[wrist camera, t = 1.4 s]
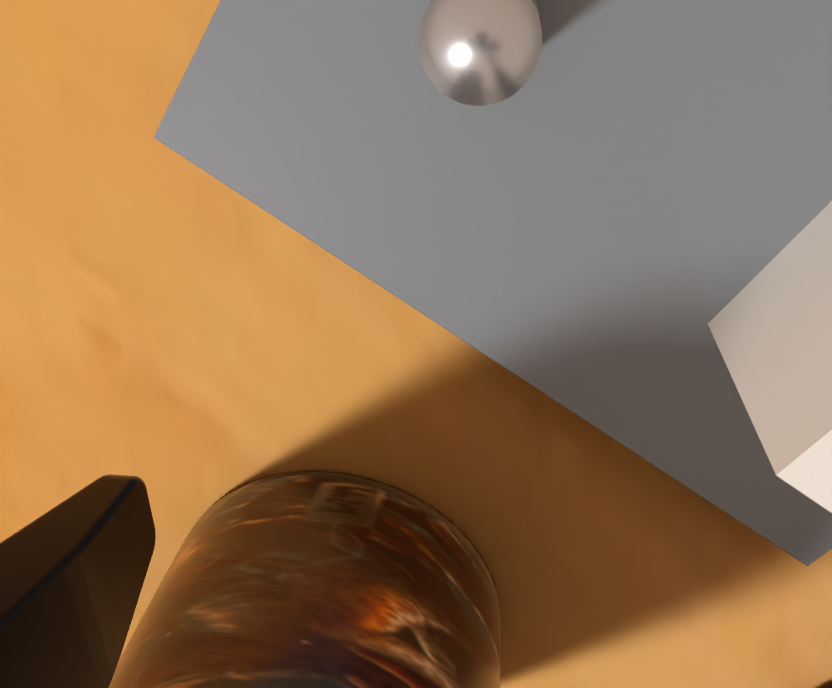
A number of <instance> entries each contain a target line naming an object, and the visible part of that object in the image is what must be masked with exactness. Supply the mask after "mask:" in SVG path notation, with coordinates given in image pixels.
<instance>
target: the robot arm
mask: <svg viewBox="0 0 832 688" xmlns="http://www.w3.org/2000/svg"><path fill="white" fill-rule="evenodd" d="M154 546H155V527H154V522H153V517H152V513H151V508H150V503H149V499H148V494H147V489H146V486H145V483H144V482H143V480H142V479H141V478H139V477H136V476H125V475H105V476H102V477H100V478H99V479H97V480H95V481H94V482H92V483H91V484H89V485H88V486H86V487H85V488H83V489H82V490H80V491H79V492H77V493H76V494H74V495H73V496H71V497H70V498H68V499H67V500H65V501H63V502H62V503H60V504H59V505H57V506H56V507H54V508H53V509H51V510H50V511H48V512H47V513H45V514H44V515H42V516H41V517H39V518H38V519H36V520H35V521H33V522H32V523H30V524H29V525H27V526H25V527H24V528H22V529H21V530H19V531H18V532H16V533H15V534H13V535H12V536H10V537H9V538H7V539H6V540H4V541H3V542H1V543H0V688H109V685H110V683H111V681H112V678H113V676H114V673H115V670H116V667H117V664H118V661H119V658H120V655H121V652H122V649H123V646H124V643H125V640H126V636H127V633H128V630H129V627H130V624H131V620H132V617H133V614H134V611H135V608H136V605H137V601H138V598H139V595H140V592H141V589H142V586H143V582H144V579H145V576H146V573H147V570H148V567H149V563H150V560H151V557H152V554H153V550H154Z"/></svg>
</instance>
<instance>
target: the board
mask: <svg viewBox="0 0 832 688" xmlns="http://www.w3.org/2000/svg"><path fill="white" fill-rule="evenodd" d="M431 1H432V0H220V3H219V5H218V7H217V9H216V11H215V13H214V15H213V17H212V19H211V21H210V23H209V25H208V27H207V29H206V31H205V33H204V35H203V37H202V39H201V41H200V43H199V45H198V48H197V50H196V52H195V54H194V56H193V58H192V60H191V62H190V64H189V66H188V68H187V70H186V72H185V74H184V76H183V78H182V80H181V82H180V84H179V86H178V88H177V90H176V93H175V95H174V97H173V99H172V101H171V103H170V105H169V107H168V109H167V111H166V113H165V115H164V117H163V119H162V121H161V123H160V125H159V127H158V129H157V131H156V133H155V136H154V138H155V139H157V140H158V141H160V142H161V143H163V144H164V145H166V146H167V147H169V148H171V149H172V150H174V151H175V152H177V153H178V154H180V155H181V156H183V157H184V158H186V159H187V160H189V161H190V162H192V163H193V164H195V165H196V166H198V167H199V168H201V169H203V170H204V171H206V172H207V173H209V174H210V175H212V176H213V177H215V178H216V179H218V180H219V181H221V182H222V183H224V184H225V185H227V186H228V187H230V188H232V189H233V190H235V191H236V192H238V193H239V194H241V195H242V196H244V197H245V198H247V199H248V200H250V201H251V202H253V203H254V204H256V205H257V206H259V207H260V208H262V209H264V210H265V211H267V212H268V213H270V214H271V215H273V216H274V217H276V218H277V219H279V220H280V221H282V222H283V223H285V224H286V225H288V226H289V227H291V228H293V229H294V230H296V231H297V232H299V233H300V234H302V235H303V236H305V237H306V238H308V239H309V240H311V241H312V242H314V243H315V244H317V245H318V246H320V247H321V248H323V249H325V250H326V251H328V252H329V253H331V254H332V255H334V256H335V257H337V258H338V259H340V260H341V261H343V262H344V263H346V264H347V265H349V266H350V267H352V268H354V269H355V270H357V271H358V272H360V273H361V274H363V275H364V276H366V277H367V278H369V279H370V280H372V281H373V282H375V283H376V284H378V285H379V286H381V287H383V288H384V289H386V290H387V291H389V292H390V293H392V294H393V295H395V296H396V297H398V298H399V299H401V300H402V301H404V302H405V303H407V304H408V305H410V306H411V307H413V308H415V309H416V310H418V311H419V312H421V313H422V314H424V315H425V316H427V317H428V318H430V319H431V320H433V321H434V322H436V323H437V324H439V325H440V326H442V327H444V328H445V329H447V330H448V331H450V332H451V333H453V334H454V335H456V336H457V337H459V338H460V339H462V340H463V341H465V342H466V343H468V344H469V345H471V346H472V347H474V348H476V349H477V350H479V351H480V352H482V353H483V354H485V355H486V356H488V357H489V358H491V359H492V360H494V361H495V362H497V363H498V364H500V365H501V366H503V367H505V368H506V369H508V370H509V371H511V372H512V373H514V374H515V375H517V376H518V377H520V378H521V379H523V380H524V381H526V382H527V383H529V384H530V385H532V386H533V387H535V388H537V389H538V390H540V391H541V392H543V393H544V394H546V395H547V396H549V397H550V398H552V399H553V400H555V401H556V402H558V403H559V404H561V405H562V406H564V407H566V408H567V409H569V410H570V411H572V412H573V413H575V414H576V415H578V416H579V417H581V418H582V419H584V420H585V421H587V422H588V423H590V424H591V425H593V426H594V427H596V428H598V429H599V430H601V431H602V432H604V433H605V434H607V435H608V436H610V437H611V438H613V439H614V440H616V441H617V442H619V443H620V444H622V445H623V446H625V447H627V448H628V449H630V450H631V451H633V452H634V453H636V454H637V455H639V456H640V457H642V458H643V459H645V460H646V461H648V462H649V463H651V464H652V465H654V466H655V467H657V468H659V469H660V470H662V471H663V472H665V473H666V474H668V475H669V476H671V477H672V478H674V479H675V480H677V481H678V482H680V483H681V484H683V485H684V486H686V487H688V488H689V489H691V490H692V491H694V492H695V493H697V494H698V495H700V496H701V497H703V498H704V499H706V500H707V501H709V502H710V503H712V504H713V505H715V506H716V507H718V508H720V509H721V510H723V511H724V512H726V513H727V514H729V515H730V516H732V517H733V518H735V519H736V520H738V521H739V522H741V523H742V524H744V525H745V526H747V527H749V528H750V529H752V530H753V531H755V532H756V533H758V534H759V535H761V536H762V537H764V538H765V539H767V540H768V541H770V542H771V543H773V544H774V545H776V546H777V547H779V548H781V549H782V550H784V551H785V552H787V553H788V554H790V555H791V556H793V557H794V558H796V559H797V560H799V561H800V562H802V563H803V564H805V565H806V566H808V565H810V564H811V563H812V562H814V561H815V560H816V559H818V558H819V557H820V556H822V555H823V554H825V553H826V552H827V551H829V550H830V549H831V548H832V513H831V512H829V511H828V510H826V509H825V508H824V507H822V506H821V505H819V504H818V503H816V502H815V501H813V500H812V499H810V498H809V497H807V496H806V495H804V494H803V493H801V492H800V491H798V490H797V489H795V488H794V487H793V486H791V485H790V484H788V483H787V482H785V481H784V480H782V479H781V478H779V477H778V476H776V474H775V472H774V470H773V467H772V465H771V463H770V461H769V458H768V456H767V454H766V452H765V450H764V447H763V445H762V443H761V441H760V439H759V436H758V434H757V432H756V430H755V427H754V425H753V423H752V421H751V419H750V416H749V414H748V412H747V410H746V408H745V405H744V403H743V401H742V399H741V397H740V394H739V392H738V390H737V388H736V385H735V383H734V381H733V379H732V377H731V374H730V372H729V370H728V368H727V366H726V363H725V361H724V359H723V357H722V354H721V352H720V350H719V348H718V346H717V343H716V341H715V339H714V337H713V335H712V332H711V330H710V328H709V326H708V323H709V322H710V321H711V320H712V319H713V318H714V317H715V316H716V315H717V314H718V313H719V312H720V311H721V310H722V309H723V308H724V307H725V306H726V305H727V304H728V303H729V302H730V301H731V300H732V299H733V298H734V297H735V296H736V295H737V294H738V293H739V292H740V291H741V290H742V289H743V288H744V287H745V286H746V285H747V284H748V283H749V282H750V281H751V280H752V279H753V278H754V277H755V276H756V275H757V274H758V273H759V272H760V271H761V270H762V269H763V268H764V267H766V266H767V265H768V264H769V263H770V262H771V261H772V260H773V259H774V258H775V257H776V256H777V255H778V254H779V253H780V252H781V251H782V250H783V249H784V248H785V247H786V246H787V245H788V244H789V243H790V242H791V241H792V240H793V239H794V238H795V237H796V236H797V235H798V234H799V233H800V232H801V231H802V230H803V229H804V228H805V227H806V226H807V225H808V224H809V223H810V222H811V221H812V220H813V219H814V218H815V217H816V216H817V215H818V214H819V213H820V212H821V211H822V210H823V209H824V208H825V207H826V206H827V205H828V204H829V203H830V202H831V201H832V0H536V3H537V6H538V11H539V18H540V24H541V30H542V48H541V53H540V58H539V61H538V64H537V66H536V68H535V70H534V72H533V74H532V76H531V77H530V79H529V80H528V81H527V83H526V84H525V85H524V86H523V87H522V88H521V89H520V90H519V91H518V92H517V93H515V94H514V95H512V96H511V97H509V98H507V99H506V100H504V101H501V102H498V103H495V104H491V105H485V106H472V105H466V104H462V103H459V102H457V101H454V100H452V99H450V98H449V97H447V96H446V95H444V94H443V93H442V92H440V91H439V90H438V89H437V88H436V87H435V86H434V85H433V83H432V82H431V80H430V79H429V78H428V76H427V74H426V72H425V70H424V68H423V65H422V63H421V59H420V55H419V47H418V37H419V29H420V25H421V21H422V18H423V16H424V13H425V11H426V9H427V7H428V6H429V4H430V3H431Z"/></svg>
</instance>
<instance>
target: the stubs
mask: <svg viewBox="0 0 832 688" xmlns="http://www.w3.org/2000/svg"><path fill="white" fill-rule="evenodd" d="M418 47H419V55H420V59H421V63H422V65H423V68H424V70H425V72H426V74H427V76H428V78H429V79H430V80H431V82H432V83H433V85H434V86H435V87H436V88H437V89H438V90H439V91H440V92H442V93H443V94H444V95H446V96H447V97H449V98H450V99H452V100H454V101H457V102H459V103H462V104H466V105H472V106H485V105H491V104H495V103H498V102H501V101H504V100H506V99H507V98H509V97H511V96H512V95H514V94H515V93H517V92H518V91H519V90H520V89H521V88H522V87H523V86H524V85H525V84H526V83H527V81H528V80H529V79H530V77H531V76H532V74H533V72H534V70H535V68H536V66H537V64H538V61H539V58H540V53H541V48H542V30H541V24H540V18H539V11H538V6H537V3H536V0H432V1H431V3H430V4H429V6H428V7H427V9H426V11H425V13H424V16H423V18H422V21H421V25H420V29H419V37H418Z"/></svg>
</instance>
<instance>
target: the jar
mask: <svg viewBox="0 0 832 688" xmlns="http://www.w3.org/2000/svg"><path fill="white" fill-rule="evenodd" d="M500 661H501V616H500V606H499V600H498V595H497V591H496V588H495V585H494V581H493V579H492V577H491V574H490V572H489V570H488V568H487V566H486V564H485V562H484V561H483V559H482V557H481V556H480V554H479V553H478V552H477V550H476V549H475V547H474V546H473V545H472V544H471V542H470V541H469V540H468V539H467V538H466V536H465V535H464V534H463V533H462V532H461V531H460V530H459V529H458V528H457V527H456V526H455V525H453V524H452V523H451V522H450V521H449V520H448V519H446V518H445V517H444V516H443V515H441V514H440V513H439V512H437V511H436V510H435V509H433V508H432V507H430V506H428V505H427V504H425V503H424V502H422V501H420V500H419V499H417V498H415V497H413V496H411V495H409V494H407V493H405V492H403V491H400V490H398V489H396V488H394V487H391V486H388V485H385V484H383V483H380V482H377V481H373V480H370V479H366V478H362V477H357V476H352V475H347V474H340V473H331V472H296V473H287V474H281V475H276V476H271V477H267V478H264V479H260V480H257V481H254V482H252V483H249V484H246V485H244V486H242V487H240V488H238V489H236V490H234V491H232V492H230V493H229V494H227V495H226V496H224V497H222V498H221V499H220V500H219V501H217V502H216V503H215V504H213V505H212V506H211V507H210V508H209V509H208V510H207V511H206V512H205V513H204V514H203V515H202V517H201V518H200V519H199V520H198V522H197V523H196V524H195V525H194V527H193V528H192V530H191V531H190V533H189V534H188V536H187V538H186V539H185V541H184V543H183V544H182V546H181V548H180V550H179V551H178V553H177V555H176V557H175V559H174V560H173V562H172V564H171V566H170V568H169V569H168V571H167V573H166V575H165V577H164V578H163V580H162V582H161V584H160V586H159V588H158V589H157V591H156V593H155V595H154V597H153V598H152V600H151V602H150V604H149V606H148V608H147V609H146V611H145V613H144V615H143V617H142V619H141V620H140V622H139V624H138V626H137V628H136V630H135V632H134V633H133V635H132V637H131V639H130V641H129V643H128V644H127V646H126V648H125V650H124V652H123V654H122V656H121V657H120V659H119V661H118V664H117V667H116V670H115V673H114V676H113V678H112V681H111V683H110V685H109V688H500Z"/></svg>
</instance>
